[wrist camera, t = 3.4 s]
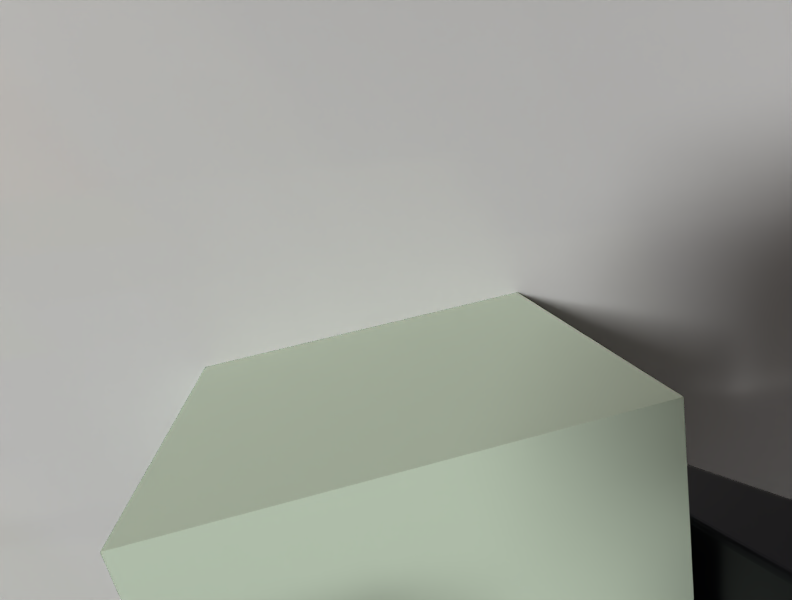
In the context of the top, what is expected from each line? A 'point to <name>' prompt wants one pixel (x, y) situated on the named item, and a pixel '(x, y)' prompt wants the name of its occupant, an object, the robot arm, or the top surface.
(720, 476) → the robot arm
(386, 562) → the sage block
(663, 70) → the top surface
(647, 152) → the top surface
